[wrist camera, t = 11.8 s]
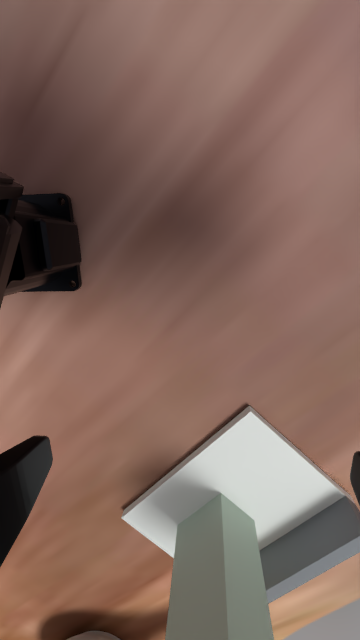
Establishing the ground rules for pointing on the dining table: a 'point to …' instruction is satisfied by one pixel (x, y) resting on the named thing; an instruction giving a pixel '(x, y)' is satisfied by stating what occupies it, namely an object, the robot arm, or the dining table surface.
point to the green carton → (218, 577)
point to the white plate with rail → (258, 502)
